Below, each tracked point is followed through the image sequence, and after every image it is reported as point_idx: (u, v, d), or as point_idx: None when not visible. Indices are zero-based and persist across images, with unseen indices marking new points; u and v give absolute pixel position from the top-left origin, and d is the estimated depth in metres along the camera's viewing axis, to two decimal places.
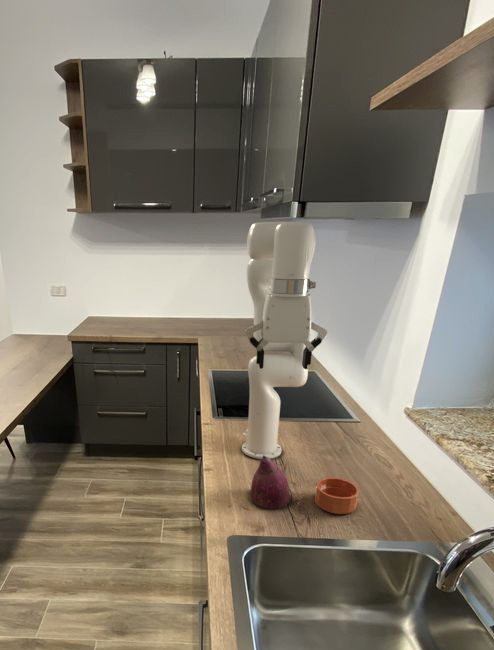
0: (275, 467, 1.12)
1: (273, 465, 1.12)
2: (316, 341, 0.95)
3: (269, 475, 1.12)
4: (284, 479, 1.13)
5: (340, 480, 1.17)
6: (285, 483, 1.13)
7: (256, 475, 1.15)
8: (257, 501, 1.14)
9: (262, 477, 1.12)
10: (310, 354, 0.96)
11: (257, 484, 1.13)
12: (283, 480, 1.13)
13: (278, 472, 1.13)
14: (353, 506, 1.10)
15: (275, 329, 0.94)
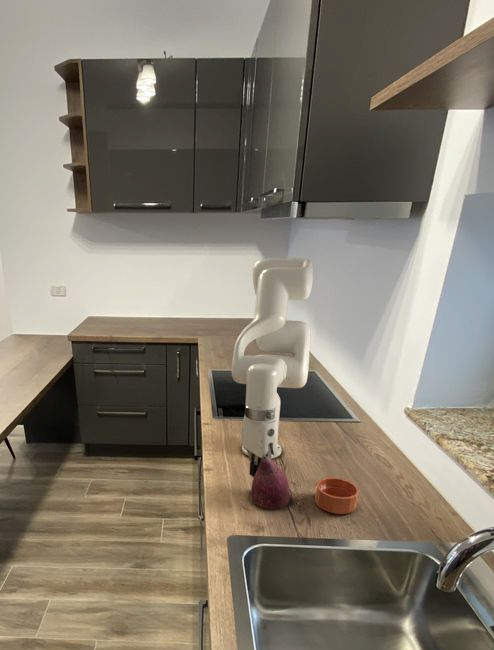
0: (275, 467, 1.12)
1: (273, 465, 1.12)
2: (259, 459, 1.16)
3: (269, 475, 1.12)
4: (284, 480, 1.13)
5: (340, 480, 1.17)
6: (285, 483, 1.13)
7: (256, 475, 1.14)
8: (257, 501, 1.14)
9: (262, 478, 1.12)
10: (256, 467, 1.18)
11: (258, 485, 1.13)
12: (283, 480, 1.13)
13: (278, 472, 1.12)
14: (353, 506, 1.10)
15: (245, 439, 1.18)
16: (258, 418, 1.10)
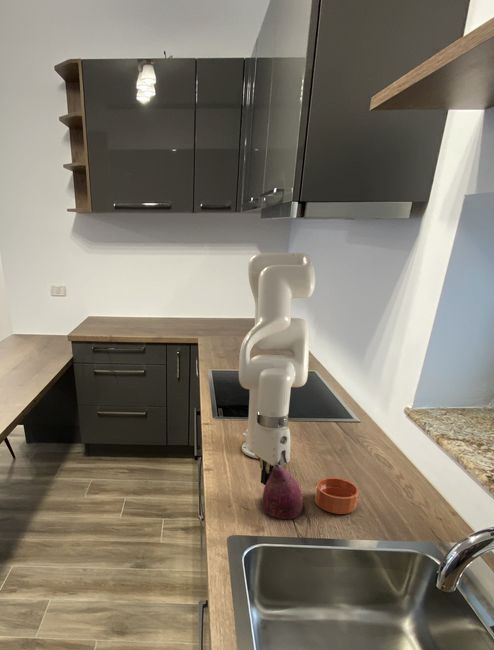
0: (288, 476, 1.08)
1: (286, 474, 1.08)
2: (271, 466, 1.12)
3: (281, 484, 1.08)
4: (297, 489, 1.09)
5: (340, 480, 1.17)
6: (298, 493, 1.09)
7: (268, 484, 1.11)
8: (269, 510, 1.10)
9: (274, 486, 1.08)
10: (268, 474, 1.14)
11: (269, 493, 1.09)
12: (296, 489, 1.09)
13: (291, 481, 1.08)
14: (353, 506, 1.10)
15: (256, 446, 1.14)
16: (271, 425, 1.06)
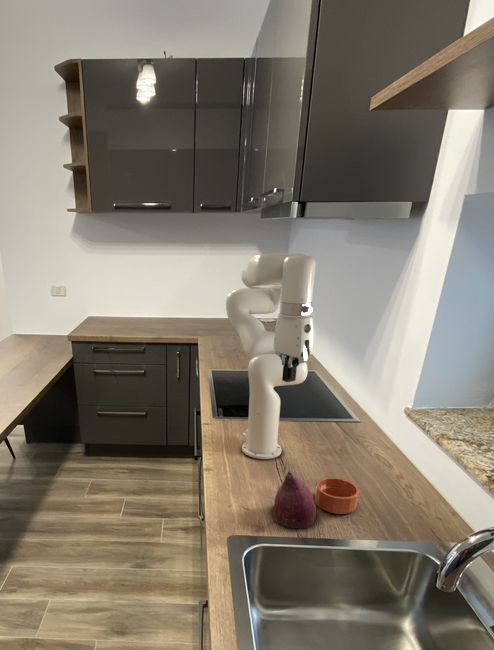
0: (301, 484, 1.05)
1: (299, 482, 1.05)
2: (294, 360, 1.12)
3: (294, 493, 1.04)
4: (310, 497, 1.05)
5: (340, 480, 1.17)
6: (311, 501, 1.06)
7: (280, 492, 1.07)
8: (281, 519, 1.07)
9: (287, 495, 1.05)
10: (290, 370, 1.14)
11: (282, 502, 1.06)
12: (310, 497, 1.05)
13: (304, 489, 1.05)
14: (353, 506, 1.10)
15: (278, 341, 1.13)
16: (294, 312, 1.06)
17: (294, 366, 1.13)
